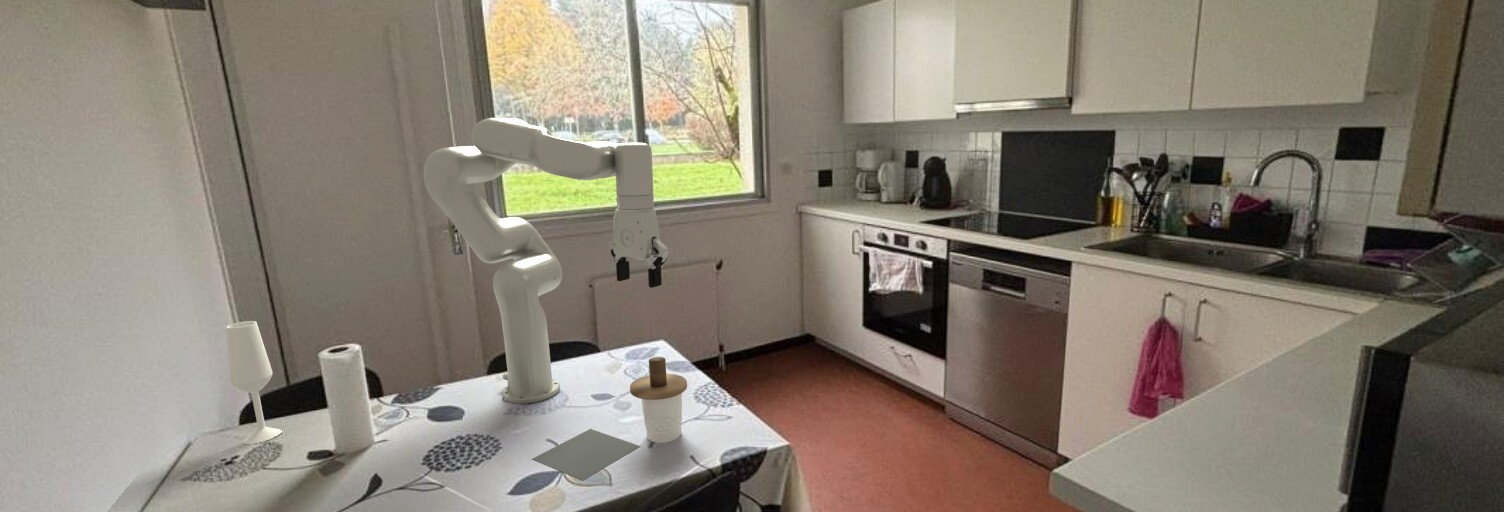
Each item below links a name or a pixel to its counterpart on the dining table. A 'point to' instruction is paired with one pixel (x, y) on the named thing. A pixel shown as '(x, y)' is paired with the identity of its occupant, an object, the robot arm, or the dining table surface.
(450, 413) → the dining table surface
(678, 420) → the white cup
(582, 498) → the dining table surface
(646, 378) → the lid
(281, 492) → the dining table surface
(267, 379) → the champagne flute
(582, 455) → the mat
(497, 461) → the dining table surface
